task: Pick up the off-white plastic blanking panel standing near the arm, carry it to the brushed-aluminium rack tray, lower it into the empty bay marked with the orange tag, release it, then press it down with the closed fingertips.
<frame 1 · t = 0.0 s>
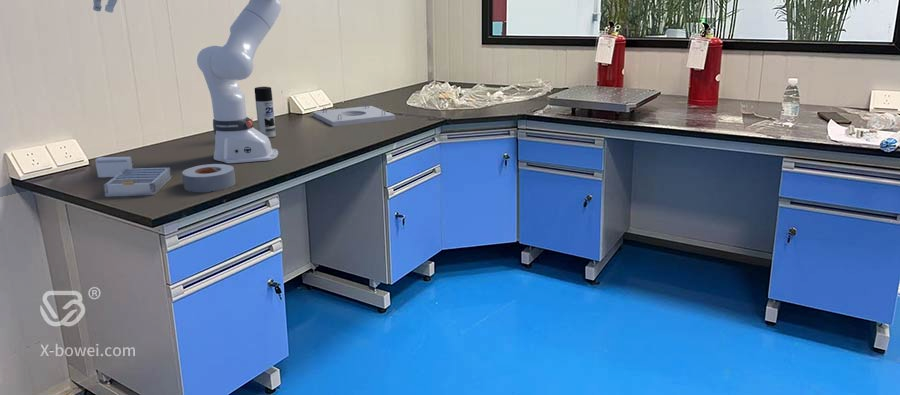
hand: (102, 11, 198), 52 cm above the worktop, tool tilted 20°, fingers open, 8 cm apart
tape roll: (210, 186, 208), on the worktop
spray can: (267, 137, 271), on the worktop
mounting panel: (353, 119, 308), on the worktop
rack: (140, 186, 206), on the worktop
panel: (116, 175, 218), on the worktop
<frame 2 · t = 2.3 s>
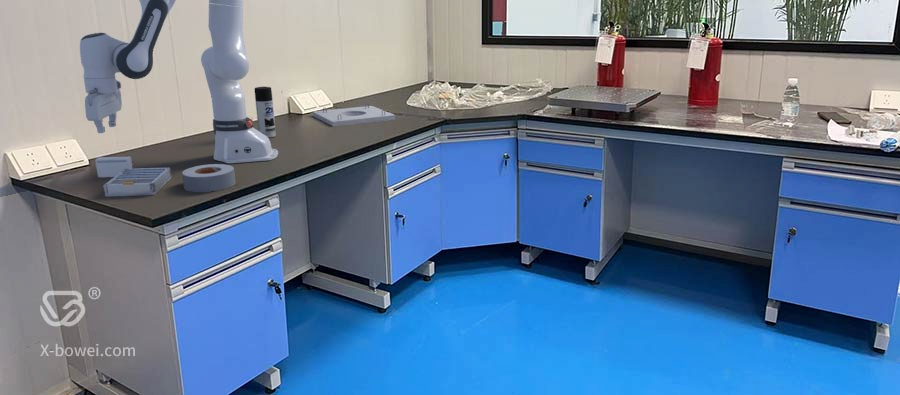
hand: (107, 129, 213), 15 cm above the worktop, tool pointing down, fingers open, 8 cm apart
nothing on the worktop moved.
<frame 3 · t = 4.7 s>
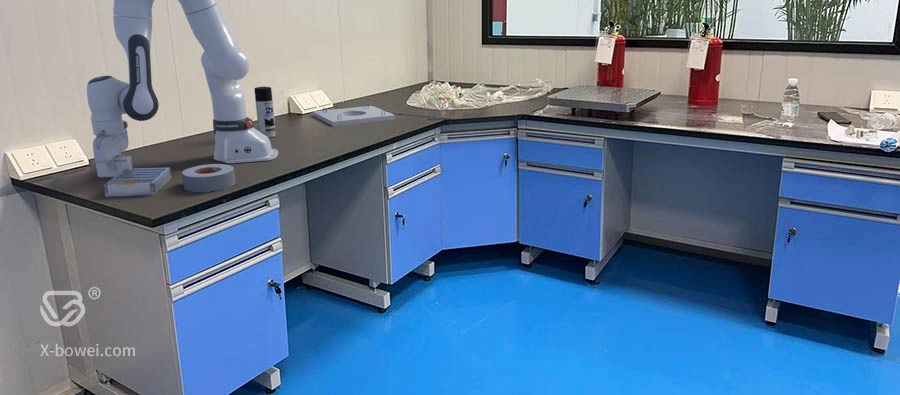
hand: (114, 169, 217), 2 cm above the worktop, tool pointing down, fingers closed on panel, 3 cm apart
panel: (115, 175, 218), on the worktop, touching gripper
everything else where it was.
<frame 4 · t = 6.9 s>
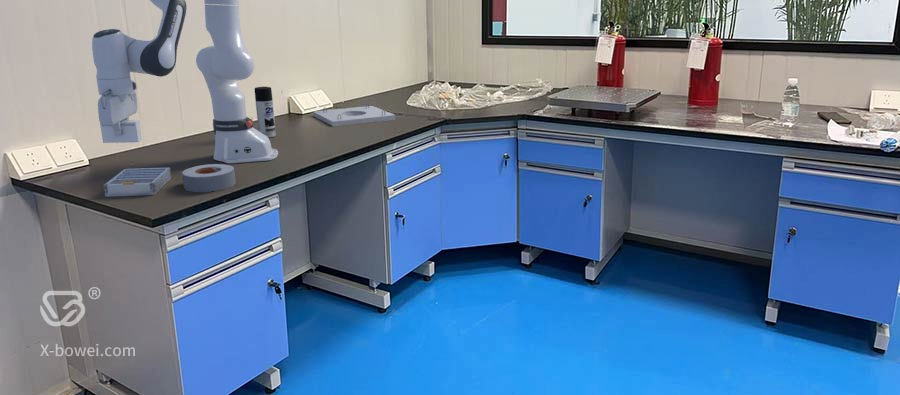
hand: (122, 134, 196), 18 cm above the worktop, tool pointing down, fingers closed on panel, 3 cm apart
panel: (122, 141, 197), point 15 cm above the worktop, touching gripper
everything else where it was.
when the fingers open (5 cm above the worktop, at t = 9.5 s): panel drops 1 cm, resting on rack.
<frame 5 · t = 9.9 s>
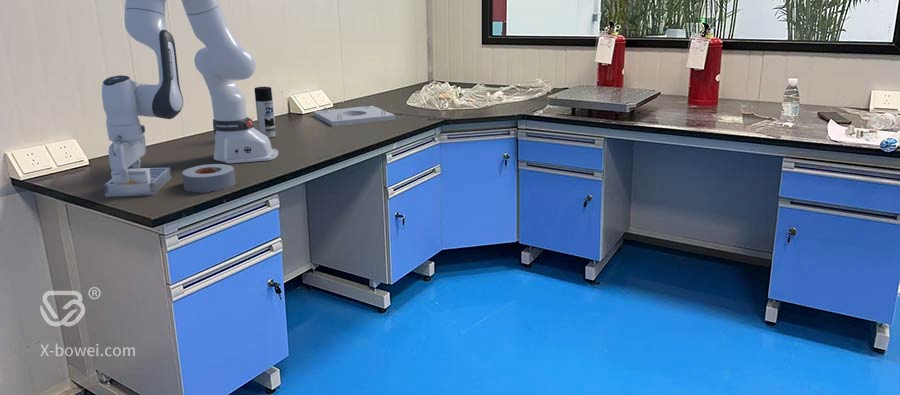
hand: (131, 177, 199), 5 cm above the worktop, tool pointing down, fingers open, 8 cm apart
panel: (133, 189, 200), point 1 cm above the worktop, touching rack
everything else where it was.
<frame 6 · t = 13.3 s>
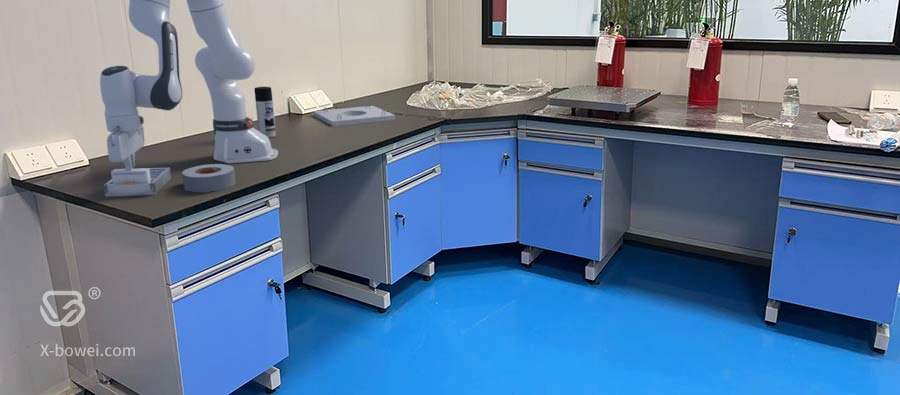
hand: (130, 168, 198), 7 cm above the worktop, tool pointing down, fingers closed
nothing on the worktop moved.
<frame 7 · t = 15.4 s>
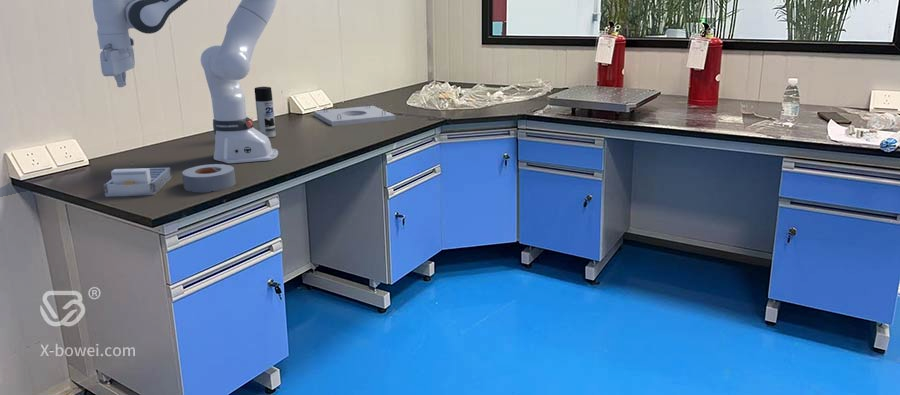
hand: (122, 86, 213), 28 cm above the worktop, tool pointing down, fingers closed
nothing on the worktop moved.
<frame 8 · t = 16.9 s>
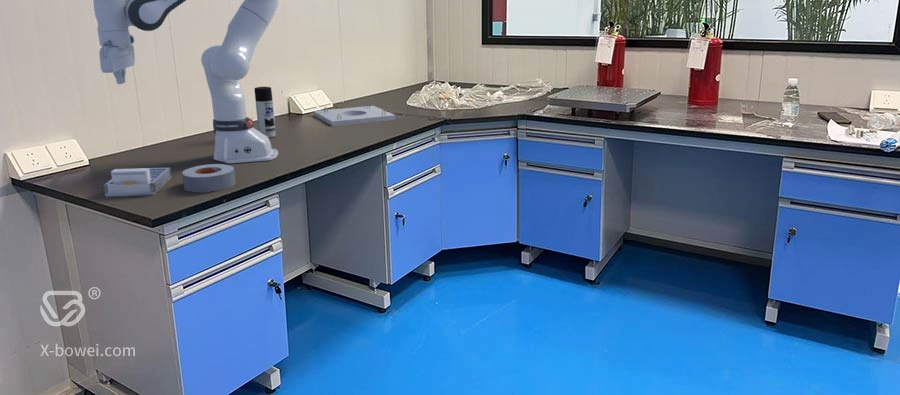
hand: (121, 83, 214), 29 cm above the worktop, tool pointing down, fingers closed
nothing on the worktop moved.
at the end: panel 0.1 cm from the target spot on the rack, point 1.0 cm above the rack's base; panel tilted 0°; the gripper is holding nothing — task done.
